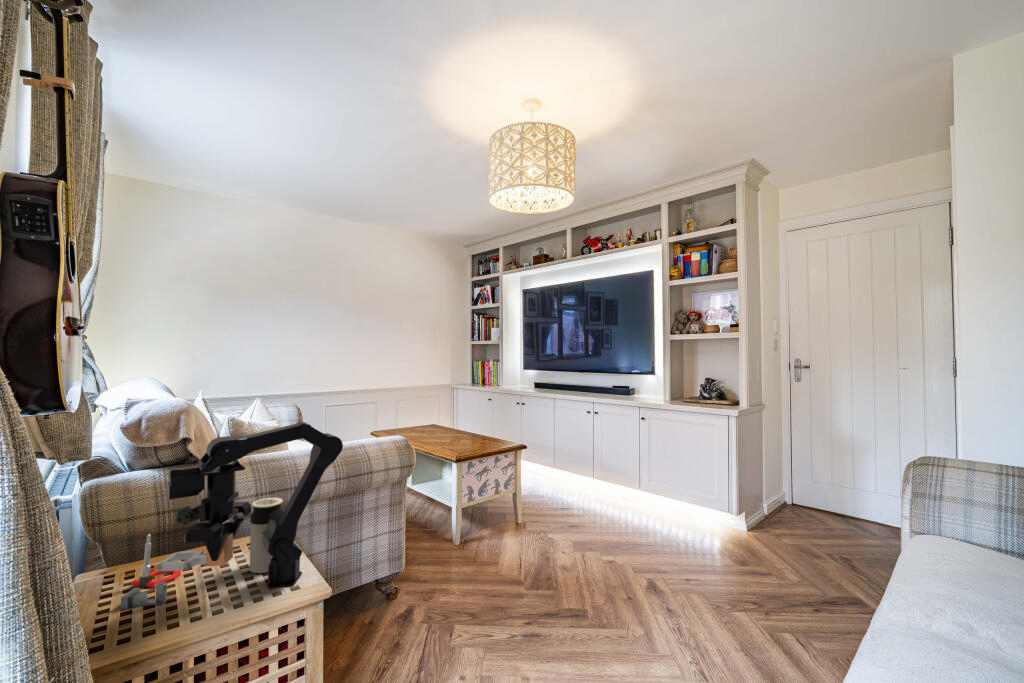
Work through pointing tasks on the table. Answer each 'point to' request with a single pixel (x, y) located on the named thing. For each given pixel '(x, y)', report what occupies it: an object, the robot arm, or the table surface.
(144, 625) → the table surface
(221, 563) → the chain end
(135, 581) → the tow hook
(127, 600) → the hook
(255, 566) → the travel mug
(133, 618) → the table surface
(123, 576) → the table surface
